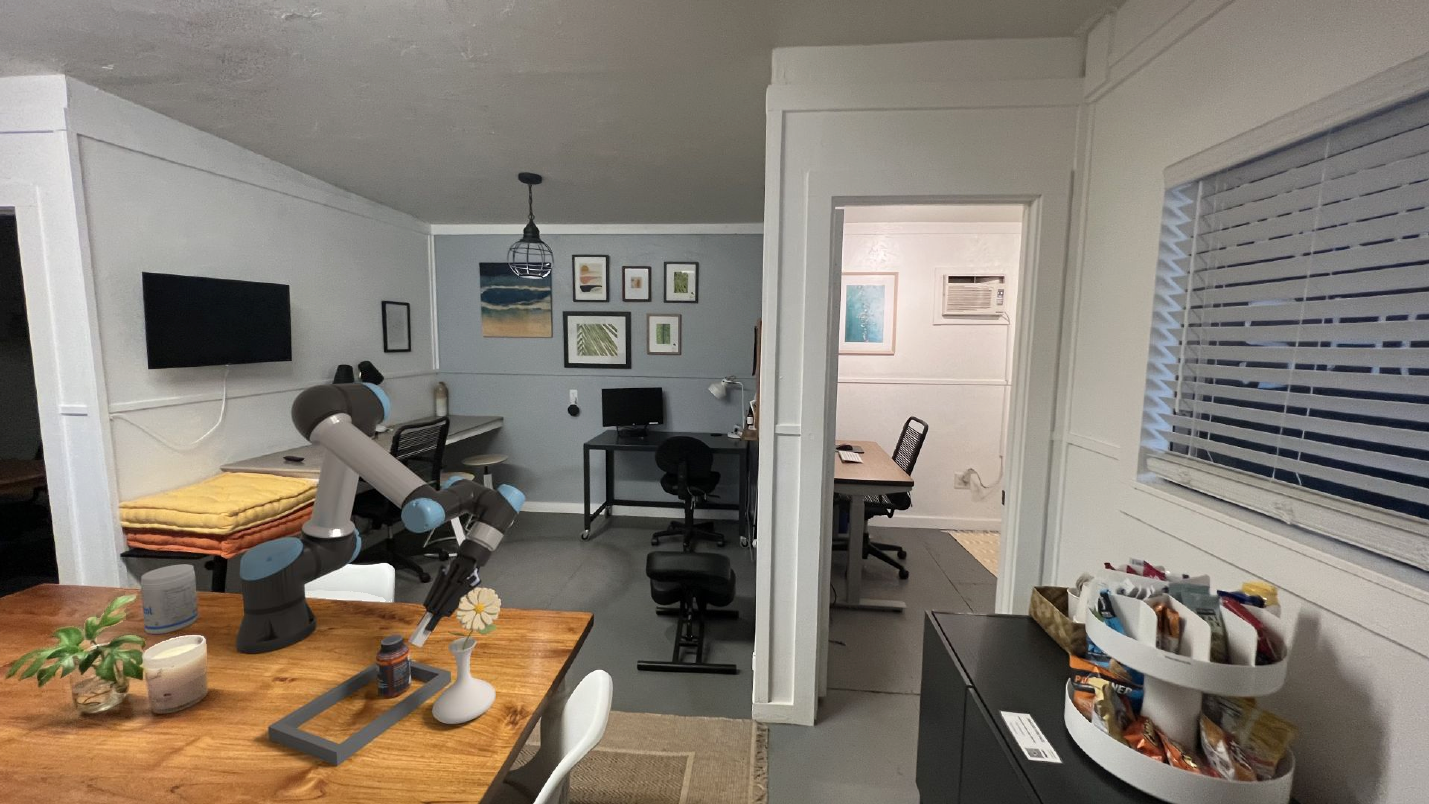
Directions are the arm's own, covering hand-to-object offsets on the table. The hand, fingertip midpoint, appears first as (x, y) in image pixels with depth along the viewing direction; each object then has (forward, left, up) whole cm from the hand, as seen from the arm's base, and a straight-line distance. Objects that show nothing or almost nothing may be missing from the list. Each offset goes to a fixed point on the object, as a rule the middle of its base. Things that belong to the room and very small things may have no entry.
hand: (414, 644), depth 111 cm
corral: (-1, -10, -8) cm, 13 cm away
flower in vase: (+18, -3, -8) cm, 20 cm away
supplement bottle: (-1, -4, -8) cm, 9 cm away
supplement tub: (-78, -5, -8) cm, 78 cm away
